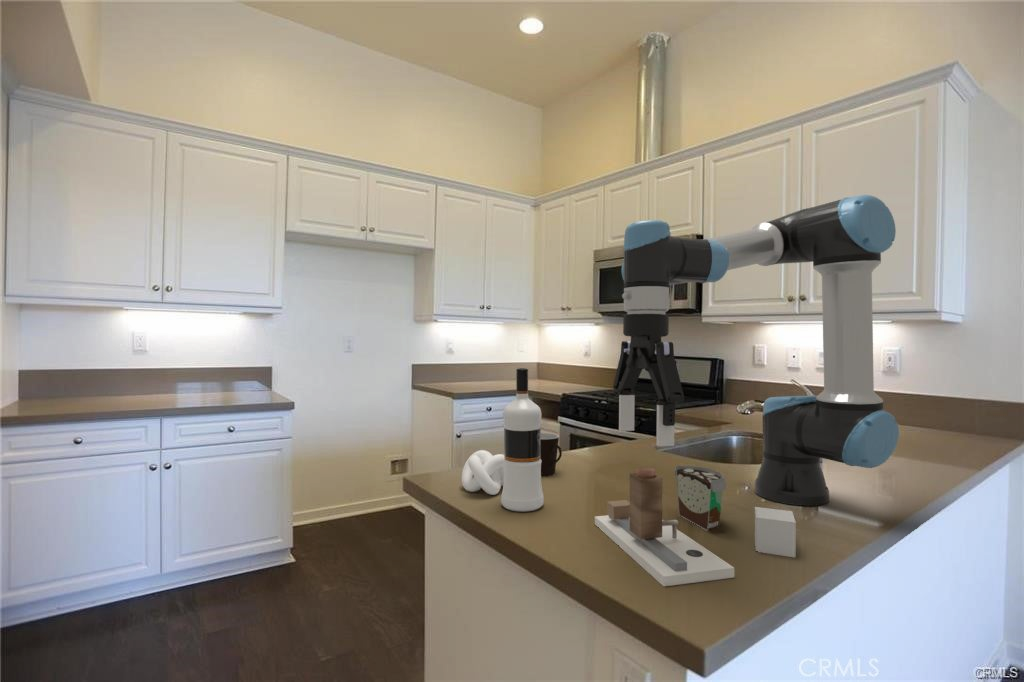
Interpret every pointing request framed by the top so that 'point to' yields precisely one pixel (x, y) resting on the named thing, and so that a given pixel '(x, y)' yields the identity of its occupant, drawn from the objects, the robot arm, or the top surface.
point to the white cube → (775, 532)
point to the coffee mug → (549, 453)
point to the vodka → (522, 451)
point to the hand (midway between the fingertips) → (644, 437)
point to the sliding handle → (647, 505)
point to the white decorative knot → (483, 472)
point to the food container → (700, 495)
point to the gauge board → (663, 550)
